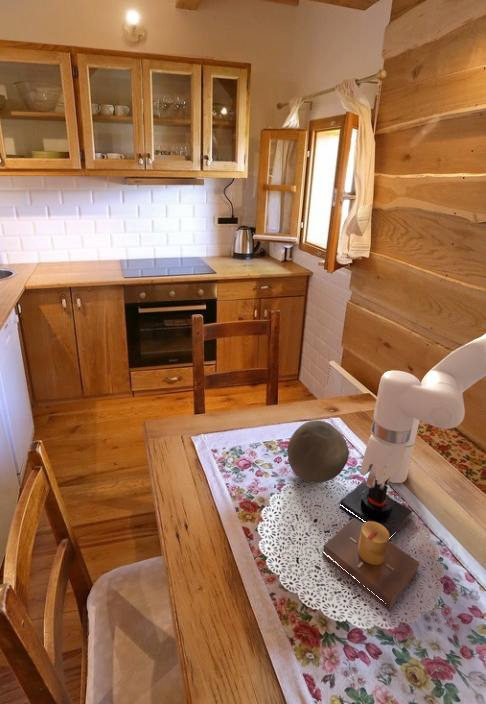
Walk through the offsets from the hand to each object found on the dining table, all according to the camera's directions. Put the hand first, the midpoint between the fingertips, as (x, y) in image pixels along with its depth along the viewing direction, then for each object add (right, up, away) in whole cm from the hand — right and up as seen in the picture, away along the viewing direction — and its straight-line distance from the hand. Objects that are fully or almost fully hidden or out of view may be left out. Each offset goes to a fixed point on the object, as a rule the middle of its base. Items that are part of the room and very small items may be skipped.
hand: (376, 498), depth 91 cm
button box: (0, -4, +1) cm, 4 cm away
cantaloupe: (-11, 0, +12) cm, 16 cm away
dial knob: (-6, -5, -12) cm, 14 cm away
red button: (0, -2, +1) cm, 2 cm away
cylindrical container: (+10, 0, +14) cm, 17 cm away
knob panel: (-6, -8, -11) cm, 15 cm away
